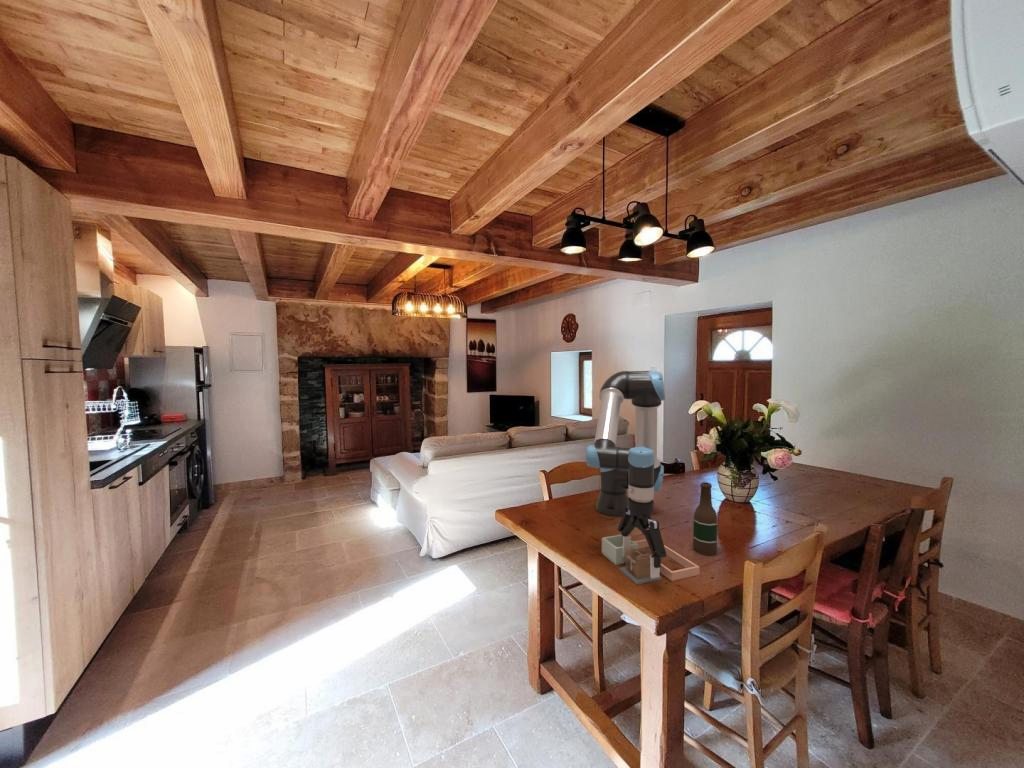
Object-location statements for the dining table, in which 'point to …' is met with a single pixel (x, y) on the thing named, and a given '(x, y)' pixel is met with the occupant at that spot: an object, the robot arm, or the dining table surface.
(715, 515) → the beer bottle
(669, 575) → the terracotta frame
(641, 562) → the letter cube
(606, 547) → the mint green open box
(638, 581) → the slate coaster
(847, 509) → the dining table surface
